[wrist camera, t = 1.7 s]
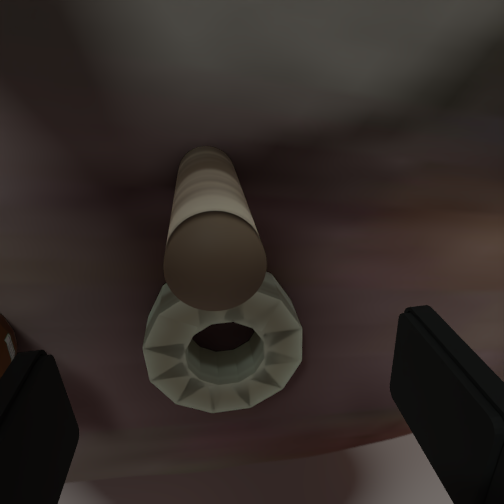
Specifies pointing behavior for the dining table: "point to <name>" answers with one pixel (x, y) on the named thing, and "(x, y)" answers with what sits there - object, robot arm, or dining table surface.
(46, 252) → the dining table surface
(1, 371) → the food container
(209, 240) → the peg
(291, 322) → the bead
